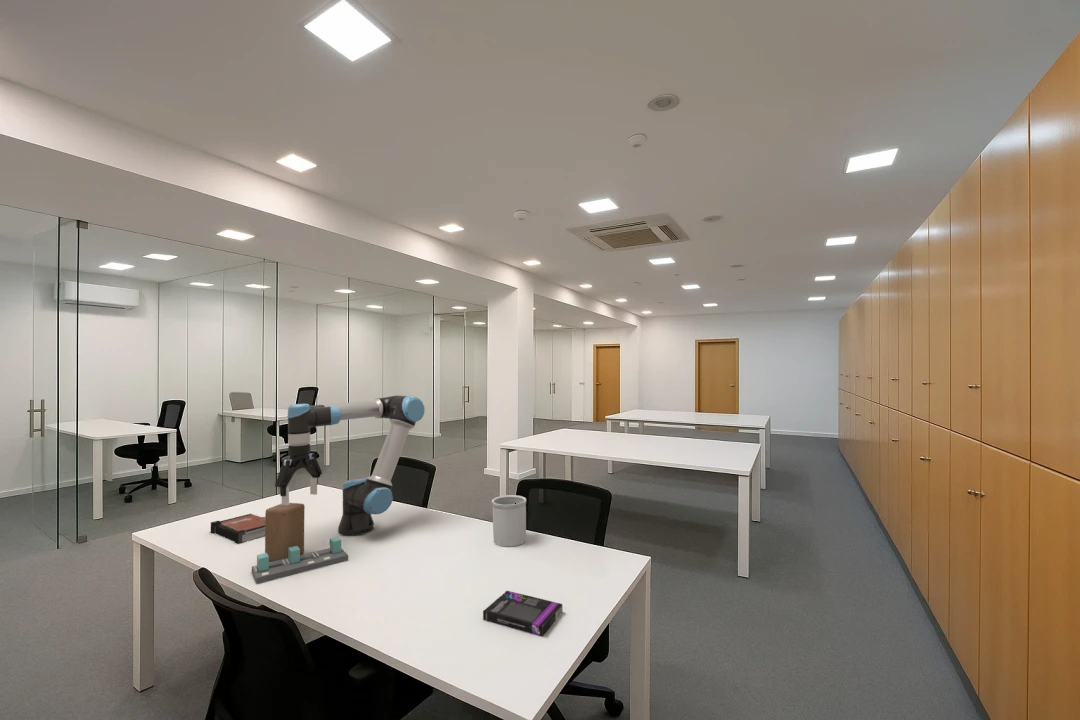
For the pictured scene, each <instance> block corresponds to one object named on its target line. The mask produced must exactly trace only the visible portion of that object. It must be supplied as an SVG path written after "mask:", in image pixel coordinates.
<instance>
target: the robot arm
mask: <svg viewBox="0 0 1080 720" xmlns="http://www.w3.org/2000/svg"><path fill="white" fill-rule="evenodd" d="M425 409H426V408H425V405H424V402H423V401H422V400H421V398H419V397H417V396H413V395H391V396H386V397H384V396H383V397H379V398H378V397H376V398H374V399H373V400H368V401H367V400H366V401H355V402H354V401H353V402H342V403H329V404H319V405H318V404H317V405H310V404H309V403H293V404H290V405H289V406H288V407H287V416H286V417H287V437H288V439H287V442H288V446H287V447H288V448H287V451H288V452H287V453H288V454H287V455H288V456H289V459H282V460H281V461H282V462H281V468H280V470H279V473H278V476H277V479H276V482H275V484H274V487H276V488H280V489H279V491H280V492H279V496H280V497H281V504H282V505H289V503H290V486H288V485H289V483H290V481H291V480H292V478H293V476H294V475H295V472H297V471H298V470H301V469H305V470H306V471H307V473H308V474H309V475H310V476H311V477H310V478H309V487H310V488H309V493H310V495H318V484H319V478H320V477H321V475H323V471H322V469H321V466H320V465H319V462H318V460H317V456H316V455H317V454H316V453H313V452H312V453H311V444H310V443H311V428H315V427H325V426H326V427H327V426H333V425H338V424H339V423H340V422H341V421H347V420H356V419H365V418H375V419H389V422H390V426H389V427H390V428H389V430H388V432H387V435H386V438H385V439H384V440H385V441H384V442H383V445H382V448H381V450H380V452H379V455H378V458H377V461H376V463H375V466H374V468H373V471H372V474H371V475H370V476H368V477H362V478H353V479H349V480H346V481H344V482H343V484H342V516H341V519H340V522H339V524H338V528H337V529H338V531H337V533H338V534H339V535H341V536H347V537H351V536H353V537H354V536H360V535H364V534H365V535H366V534H367V533H371V532H372V531H373V530H374V529H375V522H374V519H373V516H372V515H380V514H383V513H385V512H386V511H388V509H389V508H390V507H391V505H392V503H393V499H394V496H393V491H392V488H393V484H392V478H393V476H394V473H395V470H396V468H397V465H398V462H399V459H400V457H401V454H402V452H403V449H404V446H405V443H406V440H407V438H408V435H409V432H410V430H412V429H414V428H415V427H416V426H415V425H416V423H417V422H418V421H420V420H422V419H423V417H424V415H425Z"/></svg>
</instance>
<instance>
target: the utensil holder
mask: <svg viewBox="0 0 1080 720" xmlns="http://www.w3.org/2000/svg"><path fill="white" fill-rule="evenodd" d="M515 503H516V504H515ZM526 505H527V498H526V497H524V496H522V495H515V494H507V495H500V496H497V497H495V498H492V500H491V506H492V529H493V530H492V533H493V544H495V545H496V546H500V547H504V548H505V547H507V548H508V547H518V546H521V545H523V544H524V543H526V541H527V507H526Z"/></svg>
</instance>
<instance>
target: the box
mask: <svg viewBox="0 0 1080 720" xmlns="http://www.w3.org/2000/svg"><path fill="white" fill-rule="evenodd" d="M562 613H563V603H560V602H555V601H551V600H548V599H543V598H540V597H535V596H530V595H527V594H523V593H519V592H514V591H510V590H506V591H504V593H503V594H501V595H500V596H498V597H497V598H496V599H495V600H494V601H493V602H492V603H491V604H490V605H488V606H487V607H486V608H485V609H483V610H482V620H483V621H485V620H486V622H489V623H493V624H497V625H500V626H503V627H507V628H511V629H514V630H518V631H521V632H525V633H528V634H531V635H535V636H539V637H544V635H545V634H546V633H547V632H548V631H549V629H550V628H551V626H553V624H554V623H555V622H556V621H557V619H558V618H559V617H560V616H561V614H562Z"/></svg>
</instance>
